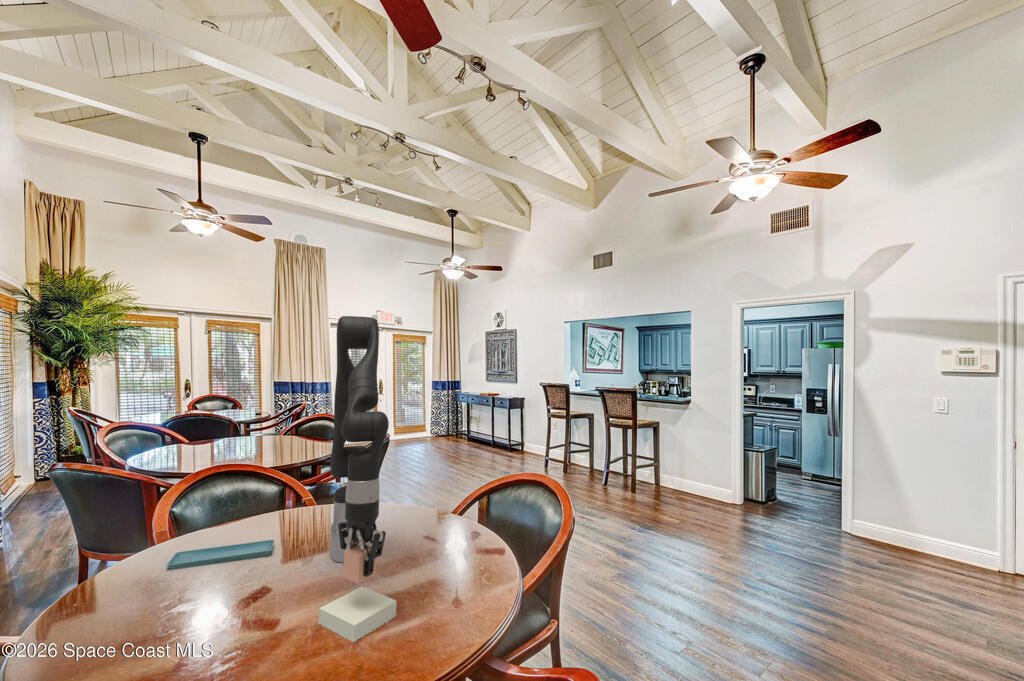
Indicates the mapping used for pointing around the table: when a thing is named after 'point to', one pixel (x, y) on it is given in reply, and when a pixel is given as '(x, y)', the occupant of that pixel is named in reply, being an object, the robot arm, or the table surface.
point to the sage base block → (357, 613)
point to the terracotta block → (355, 565)
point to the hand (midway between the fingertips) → (359, 571)
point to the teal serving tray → (221, 554)
